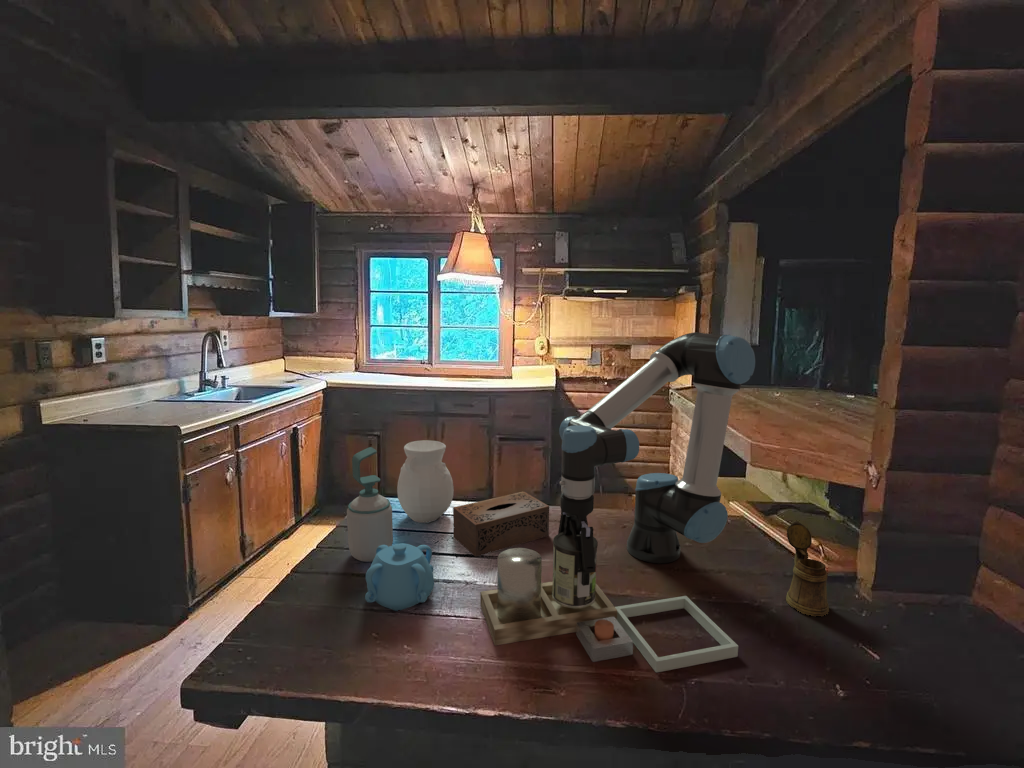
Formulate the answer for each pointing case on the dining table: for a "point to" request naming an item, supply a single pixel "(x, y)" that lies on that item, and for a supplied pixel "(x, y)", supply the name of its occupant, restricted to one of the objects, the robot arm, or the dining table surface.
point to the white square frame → (681, 659)
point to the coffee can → (570, 573)
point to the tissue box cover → (500, 522)
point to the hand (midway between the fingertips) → (574, 583)
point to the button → (604, 630)
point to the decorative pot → (400, 576)
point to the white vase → (425, 481)
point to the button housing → (604, 641)
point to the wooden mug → (806, 575)
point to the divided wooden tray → (543, 616)
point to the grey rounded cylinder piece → (518, 585)
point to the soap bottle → (368, 515)
